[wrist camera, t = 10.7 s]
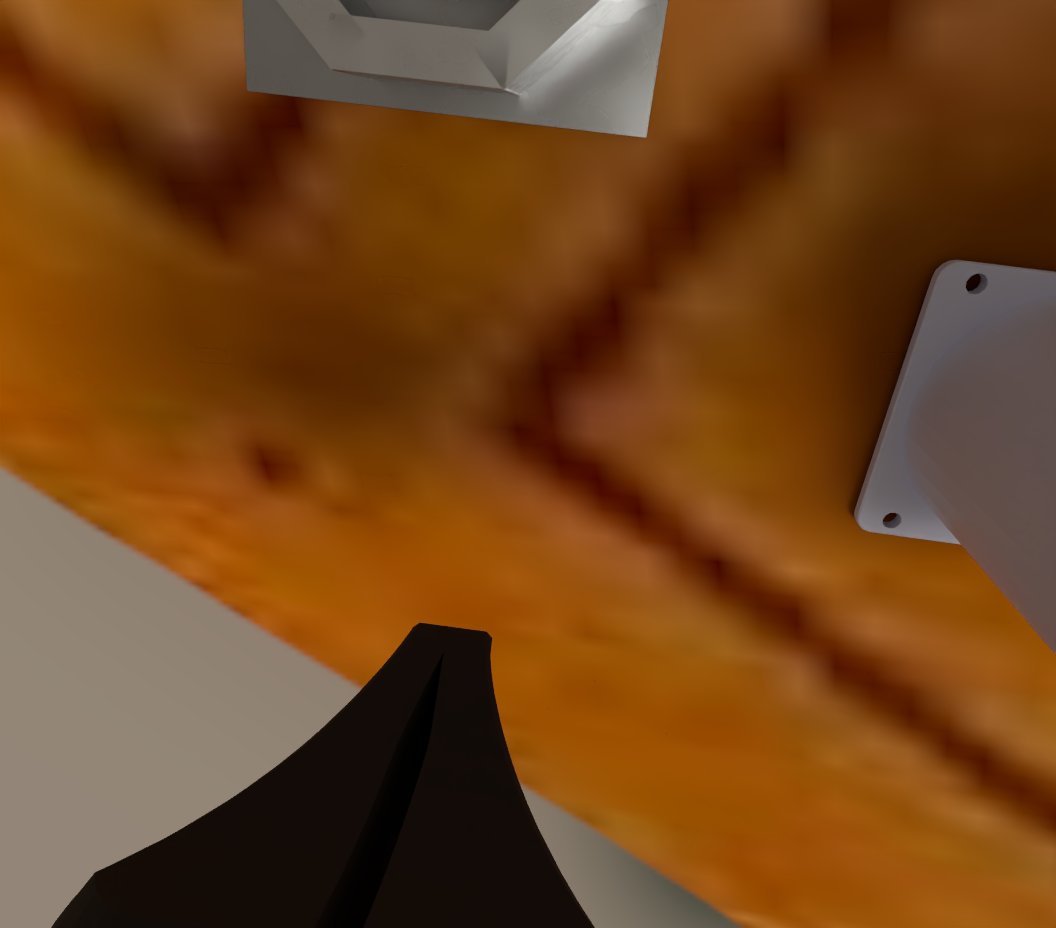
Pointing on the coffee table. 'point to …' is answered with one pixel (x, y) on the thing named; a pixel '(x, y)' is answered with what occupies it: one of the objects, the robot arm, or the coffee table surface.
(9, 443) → the coffee table surface
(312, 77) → the mount
